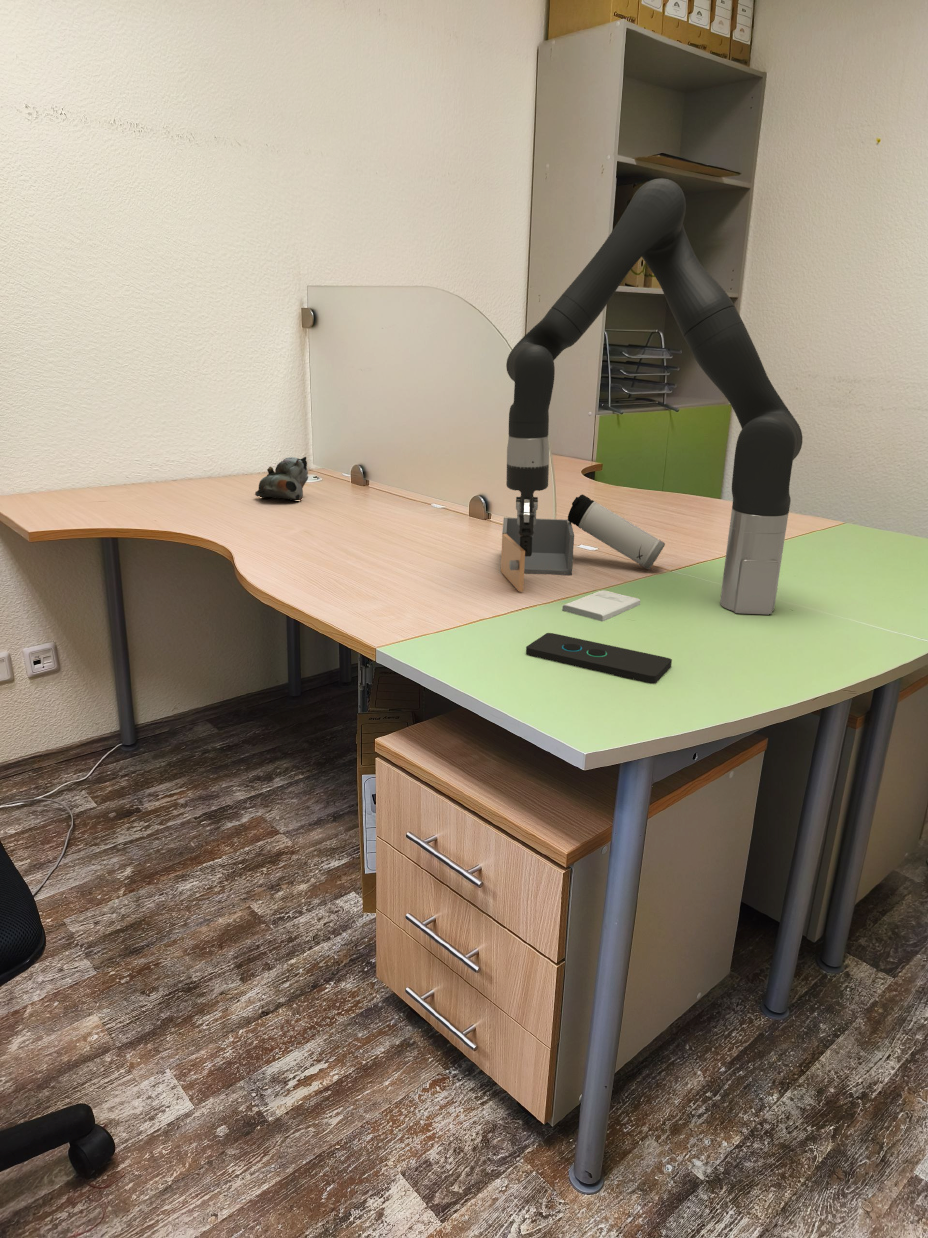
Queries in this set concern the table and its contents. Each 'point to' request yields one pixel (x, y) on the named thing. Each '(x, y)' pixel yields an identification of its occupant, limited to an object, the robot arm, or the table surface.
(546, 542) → the storage box
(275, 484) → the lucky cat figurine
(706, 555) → the table surface
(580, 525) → the travel mug
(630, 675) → the smart home device
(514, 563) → the side door
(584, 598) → the external hard drive
